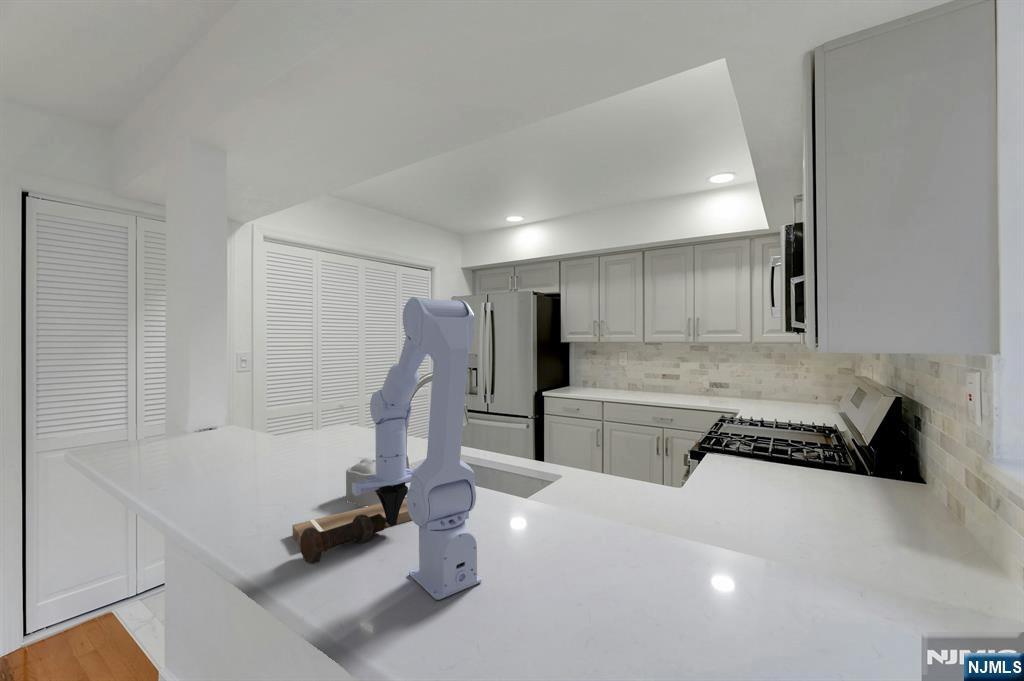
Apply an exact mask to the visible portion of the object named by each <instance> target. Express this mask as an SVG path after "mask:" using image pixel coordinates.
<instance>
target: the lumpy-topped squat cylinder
mask: <svg viewBox="0 0 1024 681" xmlns="http://www.w3.org/2000/svg"><path fill="white" fill-rule="evenodd" d="M373 476H376V459H371V458H369V457H364V458H362V459H361V460H360V462H359V463H356V464H355V465H353V466H351V467H347V468H346V470H345V501H346V502H347V501H348V502H347V503H349V502H352V503H351V504H353V503H356V504H355V505H357V504H358V505H357V506H359V505H360V506H359V507H362V506H372V505H376V504H380V503H381V501H380V499H379V497H378V495H377V493H376V492H375V490H374V491H369V492H365V493H361V495H357V496H355V495H354V494H353V493H352V483H354V482H358V481H361V480H364V479H367V478H370V477H373Z"/></svg>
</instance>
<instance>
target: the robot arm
mask: <svg viewBox="0 0 1024 681" xmlns="http://www.w3.org/2000/svg"><path fill="white" fill-rule="evenodd" d="M402 324H403V331H404V335H405V339H404V343H403V345H402V349H401V353H400V357H399V360H398V363H395V364H393V365H391V367H390V368H389V370H388V372H387V374H386V378H385V380H384V382H383V384H382V386H381V389H378V390H377V391H376V392H373V393H372V395H371V397H370V402H369V404H370V405H369V409H370V410H369V411H370V417H371V419H372V421H373V422H374V424H375V428H374V429H375V460H376V476H373V477H370V478H367V479H364V480H361V481H358V482H354V483H352V493H353V494H354V495H355V496H357V495H361V493H365V492H369V491H374V490H375V492H376V493H377V495H378V497H379V499H380V501H381V503H382V506H383V509H384V512H385V516H386V521H387V523H388V524H389V525H390V526H389V527H393V526H396V525H398V524H397V519H398V514H399V511H400V508H401V505H402V503H403V500H404V498H405V497H406V503H407V510H408V513H409V516H410V518H411V520H410V521H412V522H413V523H414V524H415V525H417V526H418V567H416V568H412V569H411V570H409V571H408V574H409V576H410V577H411V578H412V579H413V580H414V581H416V583H418V585H420V586H421V587H422V588H423V589H424V590H425V591H426V592H427V593H428V594H429V595H431V597H433V598H434V600H436V601H439V600H442V599H444V598H445V599H446V598H447V597H449V596H452V595H454V594H456V593H459V592H461V591H463V590H465V589H469V588H471V587H473V586H476V585H477V584H480V583H482V580H483V579H482V577H481V576H480V575H478V550H477V549H478V546H477V541H476V539H475V537H474V535H472V533H470V531H469V530H468V527H467V525H466V520H468V519H469V518H470V512H471V511H473V510H474V508H475V505H476V501H477V490H476V484H475V471H474V470H473V468H471V467H472V466H470V465H468V463H466V462H465V461H463V460H462V459H461V452H462V443H463V442H462V441H463V440H462V438H463V428H464V415H465V401H466V391H467V390H466V389H467V378H468V377H467V376H468V364H469V353H470V352H471V351H472V349H473V338H474V336H473V335H474V325H475V314H474V312H473V310H472V309H471V307H470V306H469V303H468V302H467V301H465V300H464V299H458V300H457V299H456V300H454V299H453V300H451V299H450V300H449V299H438V298H437V299H435V298H433V299H431V298H419V297H417V296H414V297H413V296H412V297H410V298H409V299H408V300H407V301H406V303H405V305H404V307H403V312H402ZM427 355H428V356H429V357H430V358H431V359H432V362H433V363H432V378H431V390H430V391H431V392H430V406H429V422H428V434H427V436H428V437H427V451H426V458H425V460H424V461H422V463H420V464H419V465H418V466H417V467H416V468H415V469H408V470H407V430H408V428H409V424H410V423H409V422H410V417H411V414H412V404H411V399H412V397H413V395H414V393H415V391H416V389H417V387H418V384H419V382H420V380H421V379H420V378H421V377H420V374H419V371H418V370H419V368H420V367H421V365H422V363H423V362H424V360H425V359H426V356H427ZM409 483H410V484H409ZM406 484H409V487H408V486H407V485H406Z"/></svg>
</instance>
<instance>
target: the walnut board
mask: <svg viewBox="0 0 1024 681" xmlns="http://www.w3.org/2000/svg"><path fill="white" fill-rule="evenodd" d="M406 497H407V496H405V498H404V500H403V503H402V505H401V508H400V511H399V514H398V519H397V524H396V525H398V524H399V525H400V524H402V523H406V522H410V521H412V520H411V518H410V516H409V513H408V510H407V503H406ZM361 514H363V515H367V516H368V517H371V516H374V515H377V514H381V515H382V516H383V517H384V518H385V519H386V516H385V512H384V509H383V506H382V503H380V504H376V505H372V506H368V507H360V508H356V509H352V510H348V511H343V512H339V513H336V514H332V515H328V516H324V517H320V518H316V519H314V518H312V519H310V520H306V521H303V522H299V523H295V524H292V528H291V529H292V537H293V538H294V540H295V541H296V543H297V544H298V546H299V547H300V538H301V535H302V533H303V531H304V530H305V529H307V528H310V527H312V528H314V529H316V530H318V531H320V532H321V531H326V530H329V529H333V528H336V527H339V526H342V525H345V524H348V523H351V522H353V520H354V518H355V517H356V516H358V515H361ZM385 525H386V528H388V527H391V526H390V525H389V524H388V523H387V522H386V524H385Z"/></svg>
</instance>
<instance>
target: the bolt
mask: <svg viewBox="0 0 1024 681" xmlns="http://www.w3.org/2000/svg"><path fill="white" fill-rule="evenodd" d="M386 522H387V521H386V519H385V518H384V517H383V516H382V515H381V514H377V515H374V516H371V517H368V516H367V515H363V514H361V515H358V516H356V517H355V518H354V520H353V522H351V523H348V524H345V525H342V526H339V527H336V528H333V529H329V530H326V531H321V532H320V531H318V530H316V529H314V528H312V527H310V528H307V529H305V530H304V531H303V533H302V535H301V538H300V546H299V549H300V550H299V551H300V554H301V556H302V558H303V560H304V562H306V563H308V564H311V565H312V564H317V563H319V562H320V560H321V558H322V556H323V555H322V554H323V553H324V552H325V553H326V552H328V550H331V549H334V548H336V547H340V546H342V545H346V544H349V543H352V542H354V541H357V542H358V541H359V542H358V543H362V542H364V543H367V542H369V541H370V539H371V538H372V536H373V534H376V533H380V532H382V531H384V530H385V529H386V528H387V527H386V525H385V524H386ZM368 540H369V541H368Z"/></svg>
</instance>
